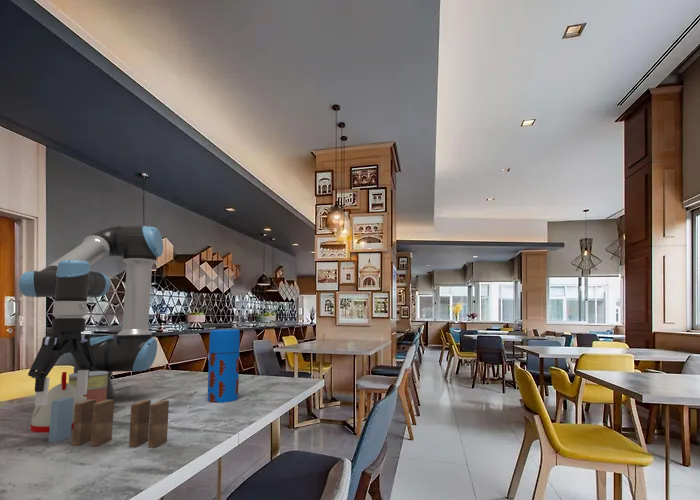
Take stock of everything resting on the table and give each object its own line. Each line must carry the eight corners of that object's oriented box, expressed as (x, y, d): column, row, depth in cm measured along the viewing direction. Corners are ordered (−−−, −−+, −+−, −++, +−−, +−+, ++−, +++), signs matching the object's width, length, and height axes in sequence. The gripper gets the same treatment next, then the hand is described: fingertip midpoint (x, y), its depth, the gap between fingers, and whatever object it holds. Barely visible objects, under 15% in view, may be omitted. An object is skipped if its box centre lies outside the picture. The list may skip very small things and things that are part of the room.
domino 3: (90, 446, 103) (93, 403, 104) (104, 439, 108) (107, 399, 109) (98, 446, 103) (101, 404, 104) (111, 439, 108) (114, 399, 109)
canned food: (58, 412, 136) (61, 374, 138) (93, 405, 146) (95, 370, 148) (78, 416, 131) (81, 377, 133) (113, 408, 141) (115, 372, 143)
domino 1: (48, 442, 106) (51, 401, 108) (63, 436, 111) (66, 397, 113) (55, 442, 106) (59, 401, 108) (70, 436, 111) (73, 397, 112)
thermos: (226, 395, 161) (228, 329, 165) (244, 398, 155) (245, 329, 158) (201, 400, 153) (203, 330, 156) (218, 404, 146) (220, 331, 150)
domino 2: (71, 445, 104) (74, 403, 105) (86, 439, 109) (89, 399, 110) (79, 445, 103) (82, 403, 105) (93, 439, 108) (96, 399, 110)
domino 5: (148, 447, 102) (150, 404, 103) (159, 441, 107) (161, 400, 108) (156, 447, 101) (158, 405, 103) (166, 441, 106) (168, 400, 108)
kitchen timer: (86, 416, 131) (89, 367, 133) (90, 426, 120) (94, 373, 122) (30, 424, 123) (35, 372, 125) (30, 436, 112) (35, 378, 114)
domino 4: (128, 447, 102) (131, 404, 103) (140, 440, 107) (143, 400, 108) (136, 447, 102) (139, 404, 103) (148, 440, 107) (150, 400, 108)
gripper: (44, 317, 100) (35, 410, 97) (112, 316, 125) (107, 390, 122) (15, 318, 101) (5, 410, 98) (89, 316, 126) (83, 390, 122)
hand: (62, 399), depth 110 cm, fingers open, 13 cm apart
